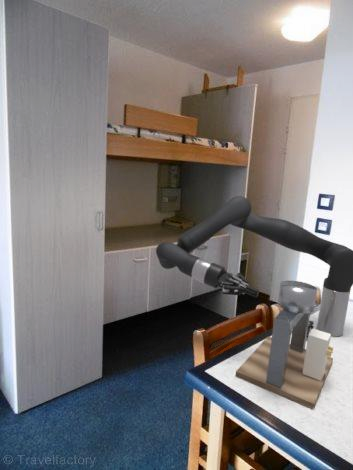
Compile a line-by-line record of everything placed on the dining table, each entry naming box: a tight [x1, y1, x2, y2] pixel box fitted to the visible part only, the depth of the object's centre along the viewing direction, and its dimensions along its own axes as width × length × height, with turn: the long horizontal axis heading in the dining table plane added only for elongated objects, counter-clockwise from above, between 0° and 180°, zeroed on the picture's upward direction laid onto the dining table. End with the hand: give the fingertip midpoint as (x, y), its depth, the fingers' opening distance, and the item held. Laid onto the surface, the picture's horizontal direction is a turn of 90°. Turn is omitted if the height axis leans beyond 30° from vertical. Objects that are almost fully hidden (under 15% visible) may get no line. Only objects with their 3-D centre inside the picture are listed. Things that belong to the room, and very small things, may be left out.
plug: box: [302, 328, 334, 381], centre depth 92 cm, size 5×6×12 cm
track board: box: [235, 336, 334, 410], centre depth 98 cm, size 27×21×2 cm
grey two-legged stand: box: [266, 280, 318, 389], centre depth 95 cm, size 26×10×24 cm, turn 146°
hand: (257, 294), depth 101 cm, fingers closed
